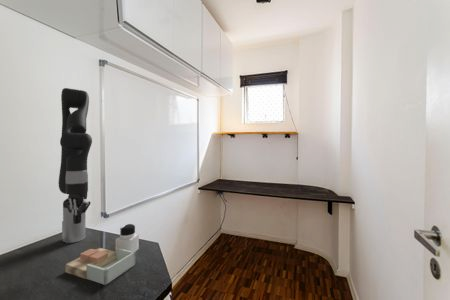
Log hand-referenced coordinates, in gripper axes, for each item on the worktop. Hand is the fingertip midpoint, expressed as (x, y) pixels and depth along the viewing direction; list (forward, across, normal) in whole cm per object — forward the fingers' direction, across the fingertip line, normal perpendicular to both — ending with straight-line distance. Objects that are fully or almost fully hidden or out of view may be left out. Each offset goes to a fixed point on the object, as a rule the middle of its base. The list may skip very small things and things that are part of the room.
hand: (77, 223), depth 87 cm
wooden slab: (+16, +9, 0) cm, 18 cm away
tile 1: (+13, +7, 0) cm, 15 cm away
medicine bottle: (+16, +14, +13) cm, 25 cm away
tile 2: (+13, +12, 0) cm, 18 cm away
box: (+16, +19, 0) cm, 25 cm away
